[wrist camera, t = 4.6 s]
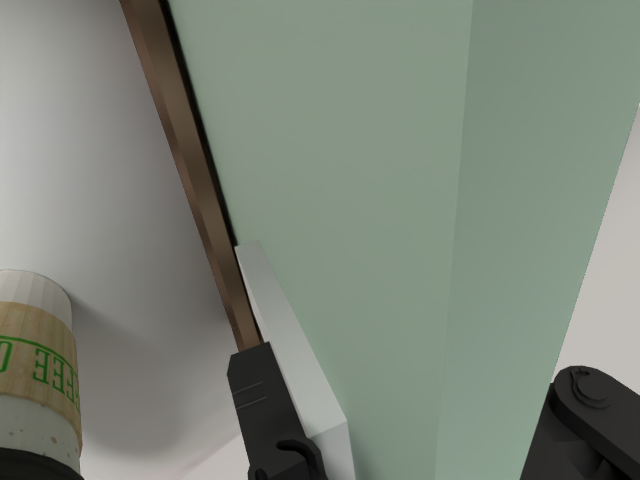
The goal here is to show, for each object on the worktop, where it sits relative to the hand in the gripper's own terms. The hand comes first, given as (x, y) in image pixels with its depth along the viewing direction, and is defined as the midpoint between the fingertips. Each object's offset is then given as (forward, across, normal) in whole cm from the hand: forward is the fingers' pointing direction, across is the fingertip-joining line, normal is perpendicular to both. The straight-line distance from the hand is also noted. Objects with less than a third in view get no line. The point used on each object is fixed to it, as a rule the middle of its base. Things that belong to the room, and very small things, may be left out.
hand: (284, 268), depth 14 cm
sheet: (+13, 0, 0) cm, 13 cm away
